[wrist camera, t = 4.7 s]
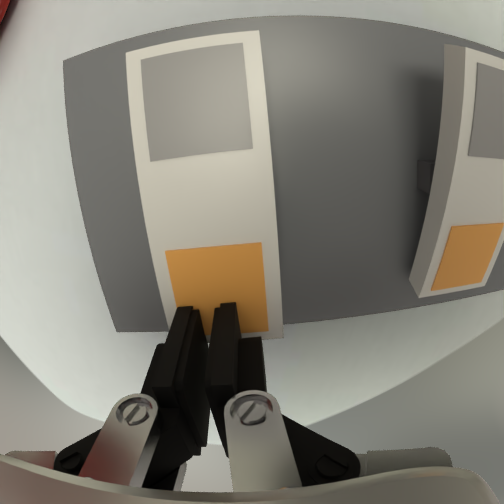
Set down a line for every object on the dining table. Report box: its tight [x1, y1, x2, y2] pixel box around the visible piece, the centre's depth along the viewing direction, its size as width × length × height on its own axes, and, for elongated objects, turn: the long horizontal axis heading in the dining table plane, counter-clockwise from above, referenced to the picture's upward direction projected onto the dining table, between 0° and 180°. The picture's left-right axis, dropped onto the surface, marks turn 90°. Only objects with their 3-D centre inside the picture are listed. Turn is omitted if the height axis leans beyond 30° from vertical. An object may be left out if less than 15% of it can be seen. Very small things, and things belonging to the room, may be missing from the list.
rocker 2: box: [409, 44, 504, 298], centre depth 9 cm, size 4×10×1 cm, turn 5°
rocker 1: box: [126, 30, 284, 343], centre depth 10 cm, size 4×10×1 cm, turn 5°
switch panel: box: [63, 16, 504, 332], centre depth 12 cm, size 22×13×4 cm, turn 95°
